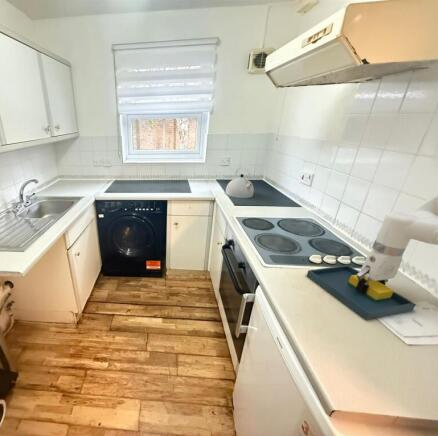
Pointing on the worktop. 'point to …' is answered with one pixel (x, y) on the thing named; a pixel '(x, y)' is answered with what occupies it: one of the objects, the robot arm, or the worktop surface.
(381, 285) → the sponge
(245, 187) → the kettle
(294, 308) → the worktop surface
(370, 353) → the worktop surface
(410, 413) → the worktop surface
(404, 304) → the tray
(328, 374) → the worktop surface
